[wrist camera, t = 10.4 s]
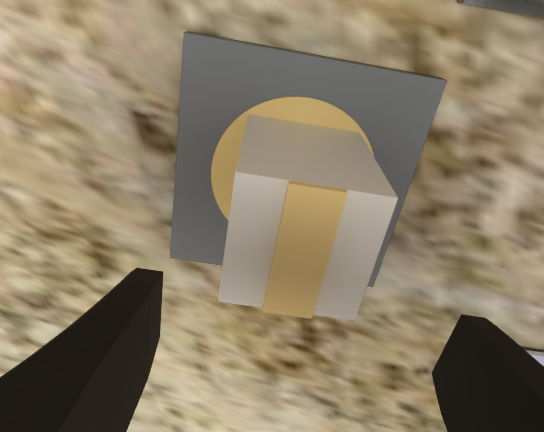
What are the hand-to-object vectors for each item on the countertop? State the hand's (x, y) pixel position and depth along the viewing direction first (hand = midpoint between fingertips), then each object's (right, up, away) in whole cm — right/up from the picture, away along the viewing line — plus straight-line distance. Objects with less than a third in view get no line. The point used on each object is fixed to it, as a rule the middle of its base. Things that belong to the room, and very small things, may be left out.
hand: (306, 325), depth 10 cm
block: (0, +4, +7) cm, 9 cm away
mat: (0, +5, +8) cm, 9 cm away
